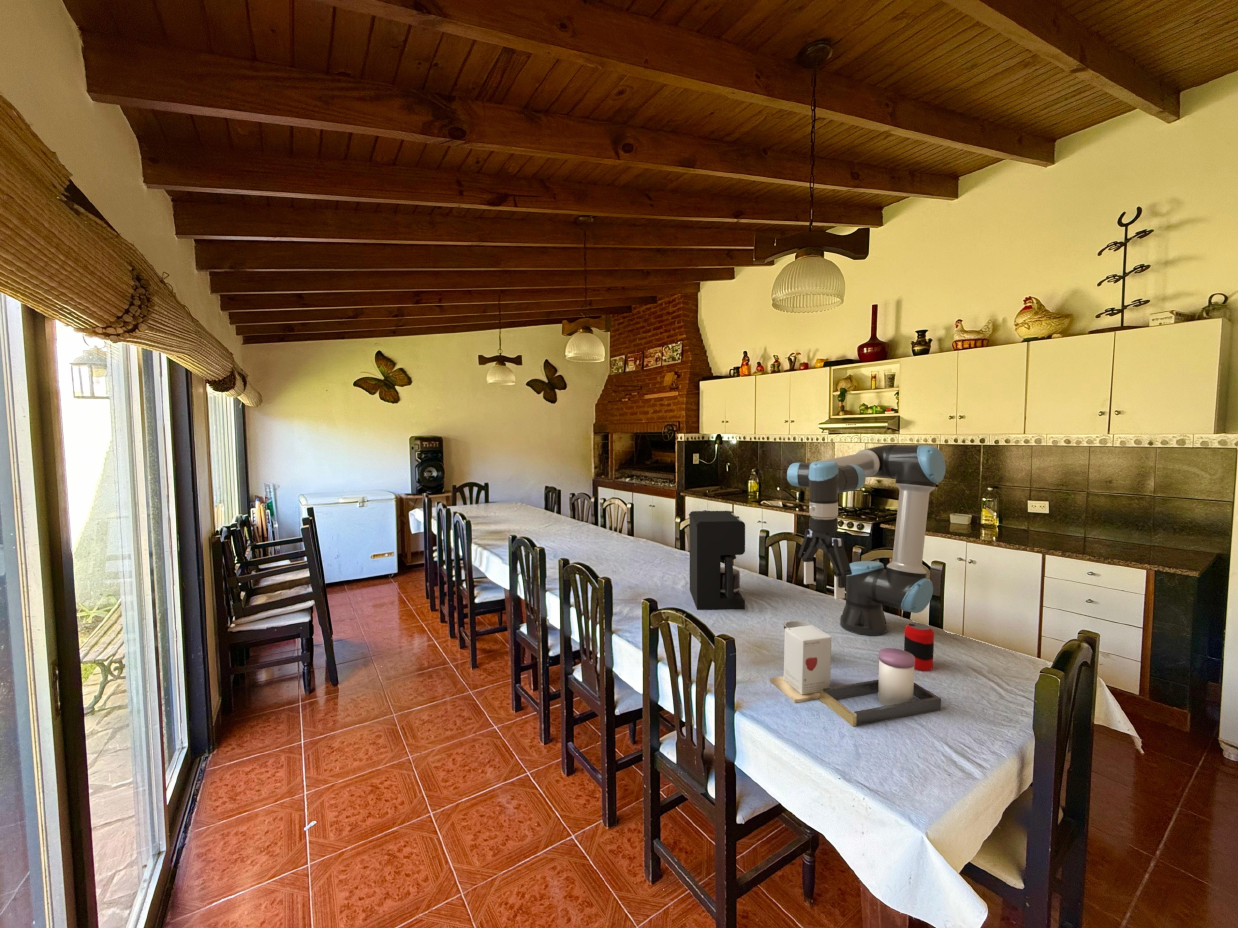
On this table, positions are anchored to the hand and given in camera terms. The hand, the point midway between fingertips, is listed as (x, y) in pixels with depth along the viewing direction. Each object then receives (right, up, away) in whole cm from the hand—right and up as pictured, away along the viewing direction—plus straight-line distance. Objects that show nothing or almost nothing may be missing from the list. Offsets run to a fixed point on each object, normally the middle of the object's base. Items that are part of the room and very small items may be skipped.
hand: (823, 590), depth 149 cm
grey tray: (+9, -26, -14) cm, 31 cm away
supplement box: (-7, -25, -5) cm, 26 cm away
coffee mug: (-2, -24, +15) cm, 28 cm away
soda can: (+31, -24, +7) cm, 40 cm away
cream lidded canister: (+13, -26, -13) cm, 32 cm away
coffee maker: (-18, -20, +65) cm, 71 cm away
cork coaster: (-8, -25, -5) cm, 27 cm away
